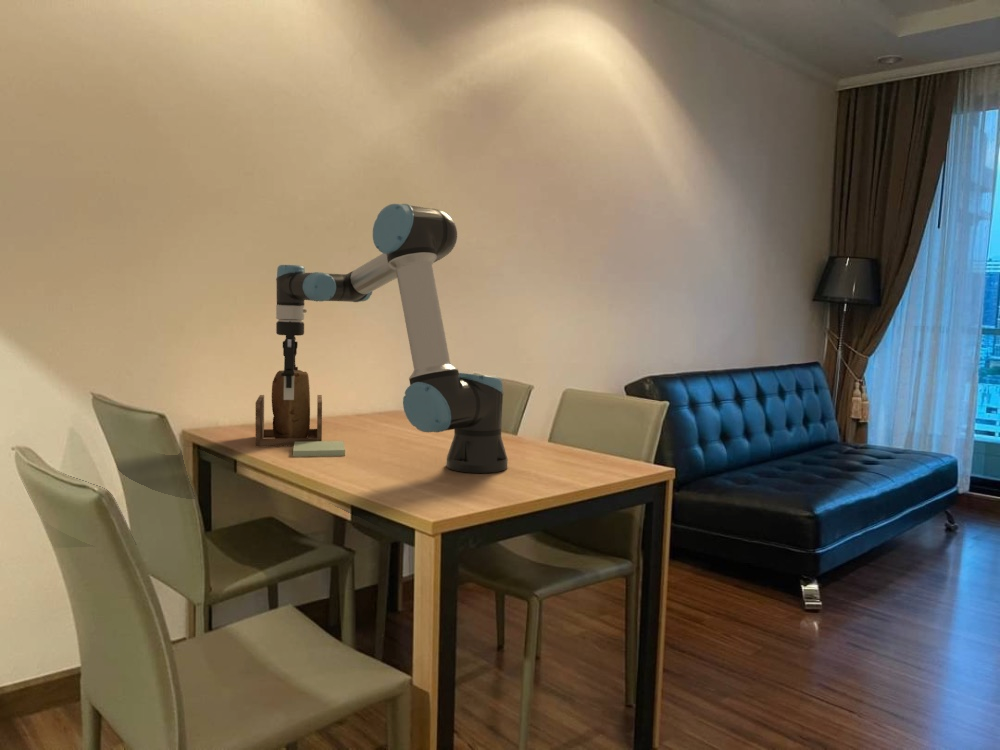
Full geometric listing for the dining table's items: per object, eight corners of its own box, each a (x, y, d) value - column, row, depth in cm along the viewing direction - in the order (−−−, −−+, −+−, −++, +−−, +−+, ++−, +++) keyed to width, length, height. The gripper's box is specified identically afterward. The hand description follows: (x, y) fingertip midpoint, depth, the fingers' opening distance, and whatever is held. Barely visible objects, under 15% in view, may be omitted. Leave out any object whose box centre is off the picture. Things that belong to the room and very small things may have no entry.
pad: (345, 455, 201) (345, 450, 201) (293, 456, 198) (293, 450, 198) (343, 446, 214) (343, 441, 214) (294, 447, 211) (294, 441, 211)
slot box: (321, 445, 214) (322, 402, 212) (255, 446, 210) (255, 402, 208) (321, 435, 230) (321, 395, 228) (259, 436, 225) (259, 395, 224)
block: (312, 442, 219) (312, 371, 217) (288, 445, 213) (289, 372, 211) (290, 436, 226) (291, 368, 224) (267, 439, 220) (267, 369, 219)
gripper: (303, 323, 205) (302, 402, 207) (304, 319, 229) (304, 390, 231) (274, 322, 203) (273, 402, 206) (278, 318, 228) (277, 390, 230)
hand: (289, 396), depth 218 cm, fingers open, 13 cm apart
